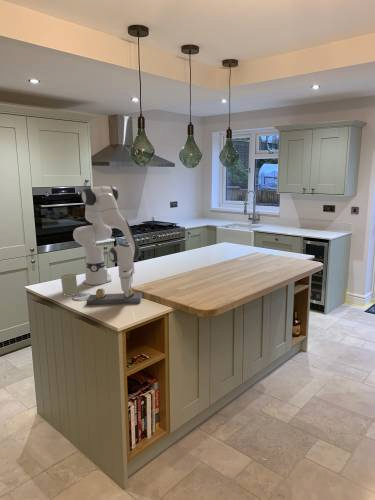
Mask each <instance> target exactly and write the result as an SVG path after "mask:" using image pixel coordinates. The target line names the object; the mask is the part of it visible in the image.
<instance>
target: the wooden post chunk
mask: <svg viewBox="0 0 375 500" xmlns="http://www.w3.org/2000/svg"><path fill="white" fill-rule="evenodd" d="M123 293H124V297H126V296H125V291H123ZM132 293H133V289H132V287H131V288H130V289H129V297H132Z"/></svg>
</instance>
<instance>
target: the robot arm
mask: <svg viewBox="0 0 375 500" xmlns="http://www.w3.org/2000/svg"><path fill="white" fill-rule="evenodd" d="M81 199H82V202H83V204H85V210H84V211H85V212H84V218H85V220H86V221H87V222H89V223H90V224H91V225H85V226H79V227H76V228H75V229H74V230H73V233H72V237H73V240H74V241H75V242H76V243H77V244H79V245H80V246H81V247H82V248H83V249H84V251H85V257H86V269H85V271H84V274H85V275H84V276H85V277H84V278H85V280H83V283H84V284H86V285H93V286H95V285H97V286H98V285H102V284H105V283H110V282H112V275H111V274H109V273H108V269H107V267H106V261H105V258H104V251H103V249H102V248H101V247H100V246H96V245H95V243H96V242H101V241H102V242H103V241H106V240H108V239H110V238H111V237H112V236H113V230H112V228H113V229H114V228H115V229H117V230H120V231H121V232H122V234H123V236H124V238H125V241H119V242H118V243H117V245H116V246H113V247H111V248H110V249H109V252H108V257H109V260H110V261H111V262H112V263H113V264H118V278H119V279H120V281H119V282H120V286H121V290H122V292H124V291H125V296H126V297H129V289H130V288H132V284H133V281H134V277H133V275H134V274H135V273H136V272H135V263H134V261H137V260H139V258H140V257H141V255H142V252H141V248H140V246H139V245H138V243H137V240H136V238H135V236H134V233H133V231H132V228H131V226H130V224H129V222H128V220H127V219H126V218H124V217H123V216H122V215H121V213H120V209H119V206H118V203H117V202H118V199H119V191H118V189H117V187H115V186H114V185H108V186H107V185H99V186H93V187H86V188H84V189H83V190H82V191H81Z"/></svg>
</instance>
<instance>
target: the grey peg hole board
mask: <svg viewBox="0 0 375 500" xmlns="http://www.w3.org/2000/svg"><path fill="white" fill-rule="evenodd" d="M142 298H143V293H142V292H132V297H124V292H123V293H122V292H121V293H105V298H100V299H97V298H96V294H90V295H89V296H88V298H87V299H86V306H87V305H88V306H102V305H103V306H107V305H110V306H111V305H125V304H126V305H127V304H130V305H131V304H141V302H142Z"/></svg>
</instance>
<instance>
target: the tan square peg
mask: <svg viewBox="0 0 375 500" xmlns="http://www.w3.org/2000/svg"><path fill="white" fill-rule="evenodd" d="M105 291H106V290H105V288H97V290H96V291H95V295H96V298H97V299H100V298H105V294H106V293H105Z"/></svg>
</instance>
